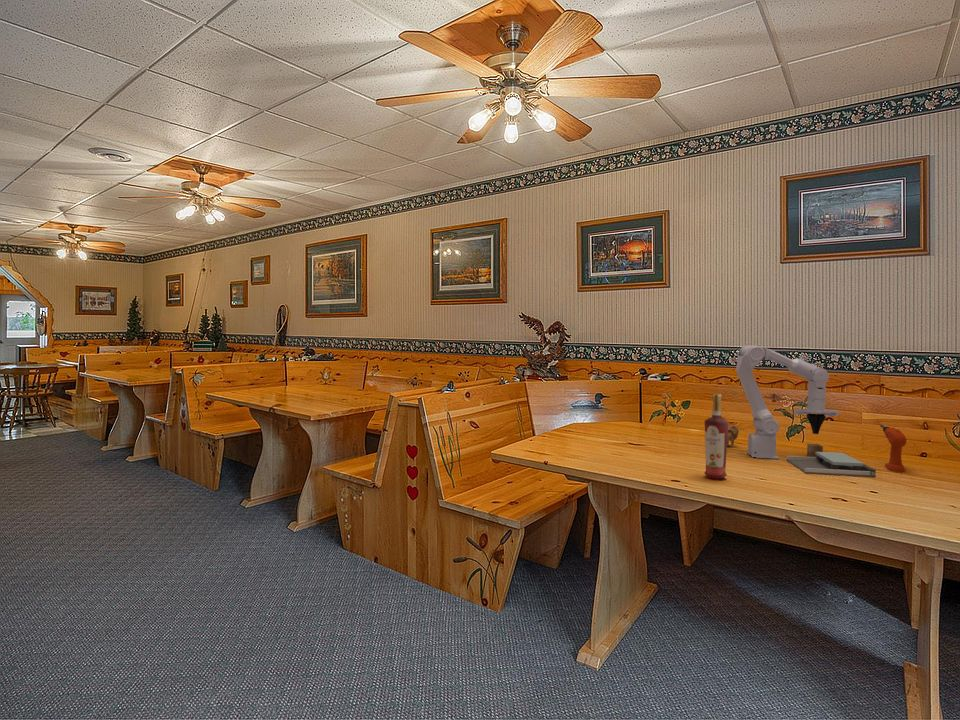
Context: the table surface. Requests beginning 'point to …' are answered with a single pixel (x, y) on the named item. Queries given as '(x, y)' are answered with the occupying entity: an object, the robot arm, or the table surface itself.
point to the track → (828, 467)
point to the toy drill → (895, 448)
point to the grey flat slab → (839, 460)
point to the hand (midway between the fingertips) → (815, 433)
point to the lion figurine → (732, 435)
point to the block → (813, 449)
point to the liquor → (716, 442)
